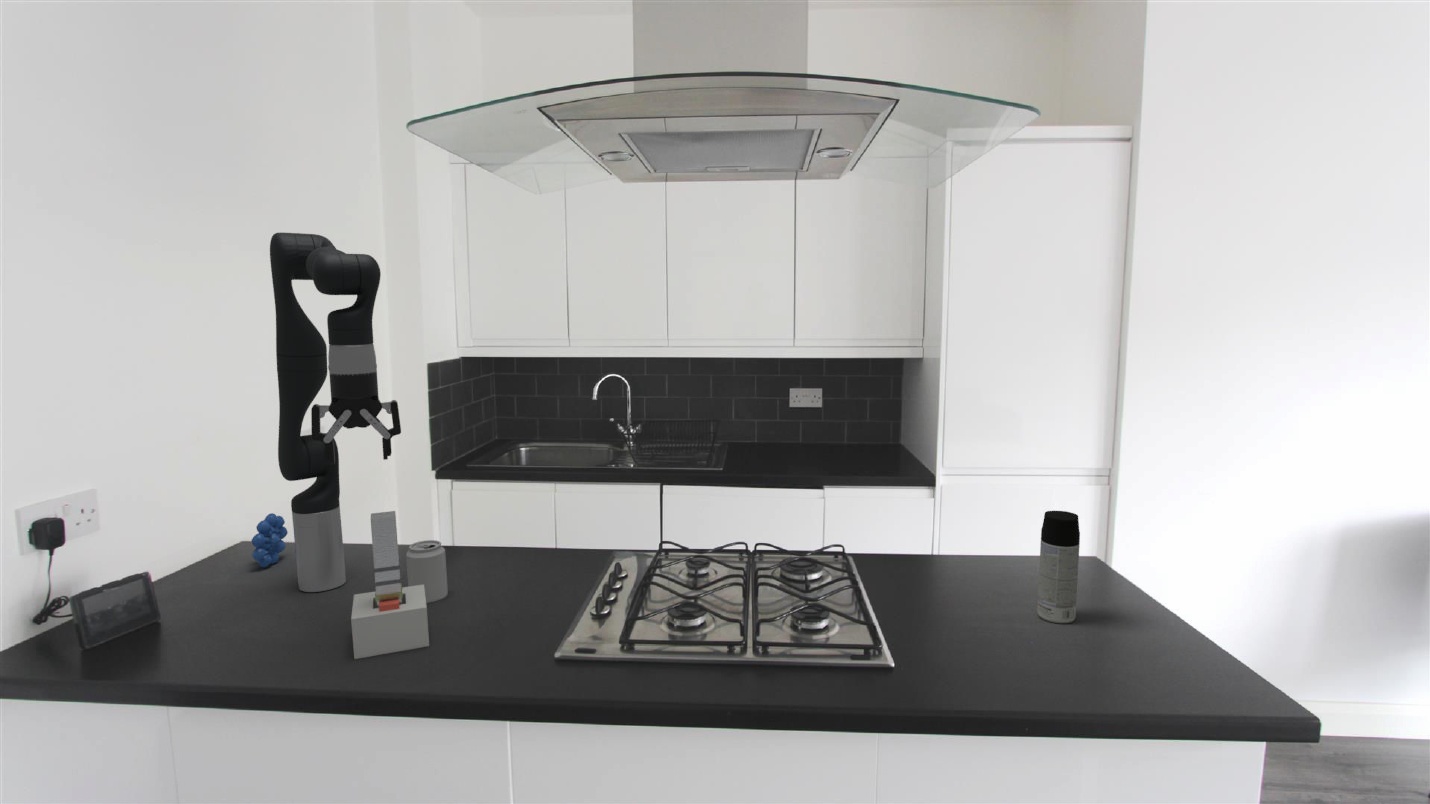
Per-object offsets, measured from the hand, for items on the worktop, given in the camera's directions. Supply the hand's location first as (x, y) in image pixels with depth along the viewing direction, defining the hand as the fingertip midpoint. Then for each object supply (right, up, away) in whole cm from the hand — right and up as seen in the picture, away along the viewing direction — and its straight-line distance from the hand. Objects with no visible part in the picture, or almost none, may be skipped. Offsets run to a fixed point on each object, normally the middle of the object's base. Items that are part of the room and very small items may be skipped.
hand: (359, 460), depth 137 cm
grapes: (-43, -28, +46) cm, 69 cm away
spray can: (+128, -31, +9) cm, 132 cm away
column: (+5, -25, +1) cm, 26 cm away
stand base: (+5, -33, +2) cm, 33 cm away
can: (+4, -31, +23) cm, 38 cm away
